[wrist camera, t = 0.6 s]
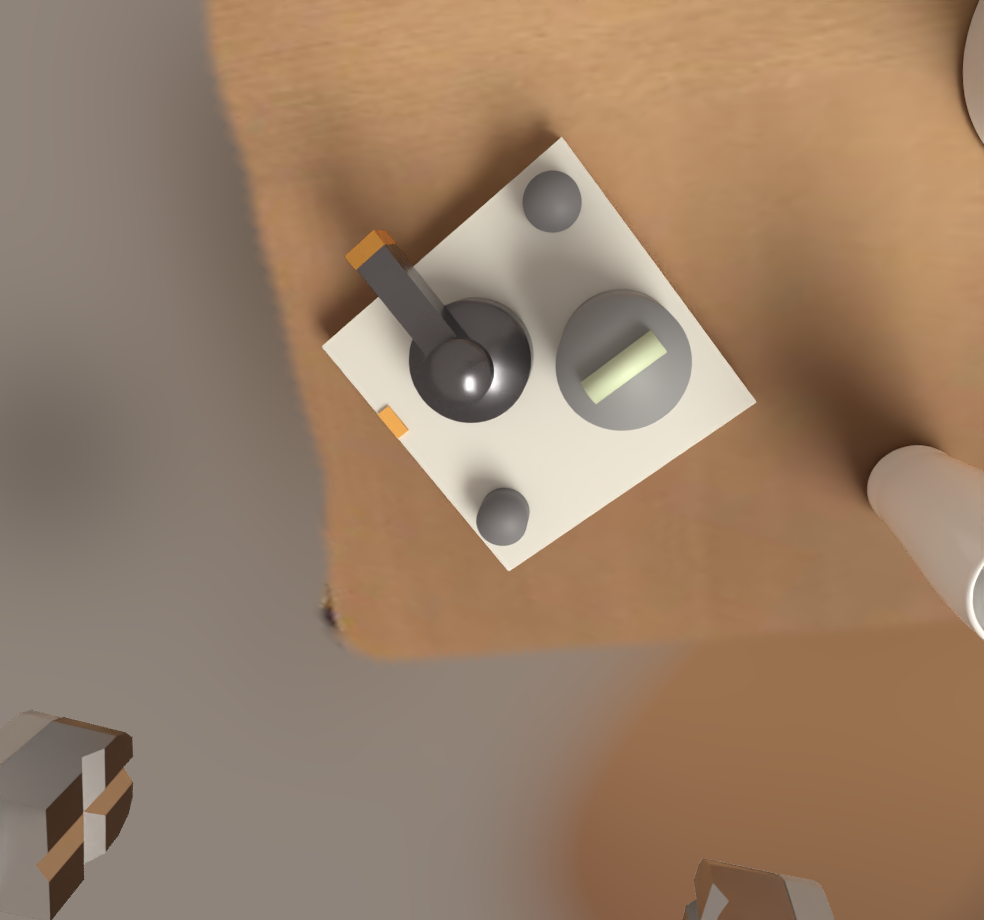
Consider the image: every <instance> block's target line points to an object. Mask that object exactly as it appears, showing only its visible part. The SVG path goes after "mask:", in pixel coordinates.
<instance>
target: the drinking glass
mask: <svg viewBox="0 0 984 920" xmlns="http://www.w3.org/2000/svg"><path fill="white" fill-rule="evenodd" d="M867 496H868V500H869V503H870V505H871V507H872V509H873V510H874V512H875V513H876V514H877V515H878V516H879V517H880V518H881V519H882V520H883V521H884V522H885V524H886V525H887V526H888V528H889V529H890V530H891V532H892V533H893V534H894V536H895V537H896V538H897V540H898V541H899V542H900V544H901V545H902V547H903V548H904V549H905V551H906V552H907V553H908V555H909V556H910V558H911V559H912V560H913V562H914V563H915V565H916V566H917V568H918V569H919V570H920V572H921V573H922V575H923V576H924V577H925V579H926V580H927V581H928V583H929V584H930V585H931V587H932V588H933V589H934V590H935V592H936V593H937V594H938V595H939V597H940V598H941V599H942V600H943V601H944V602H945V603H946V605H947V606H948V607H949V608H950V609H951V610H952V611H953V612H954V613H955V614H956V615H957V616H958V617H959V618H960V619H961V620H962V621H963V622H964V623H965V624H967V625H968V626H969V627H970V628H971V629H972V630H973V631H975V633H977V634H978V635H979V636H980V637H981V638H982V639H983V640H984V471H983V470H981V469H979V468H976V467H974V466H971V465H969V464H967V463H964V462H962V461H960V460H957V459H955V458H953V457H951V456H950V455H948V454H946V453H945V452H943V451H941V450H939V449H936V448H933V447H930V446H924V445H912V446H906V447H902V448H899V449H896V450H894V451H892V452H890V453H889V454H887V455H886V456H884V457H883V458H882V459H881V460H880V461H879V462H878V463H877V464H876V465H875V467H874V468H873V470H872V472H871V474H870V476H869V479H868V483H867Z"/></svg>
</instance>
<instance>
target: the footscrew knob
mask: <svg viewBox="0 0 984 920" xmlns="http://www.w3.org/2000/svg"><path fill="white" fill-rule="evenodd" d="M396 244H397V243H396V242H395V241H394V240H393V238H392V237H391V236H390V235H389V233H388V232H387V231H383V230H373V231H372V232H371V233H370V234H369V235H368V236H366V237H365V238H364V239H363V240H362V241H361V242H360V243H359V244H358V245H357V246H355V247H354V248H353V249H352V250H351V251H350V252H349V253H348V254H347V255H346V256H345V258H346V259H347V260H348V261H349V263H350V264H351V265H352V266H353V268H354V269H355V270H357V271H358V272H359V273H360V274H361V276H362V277H363V278H364V279H365V281H366V282H367V283H368V284H369V286H370V287H371V288H372V289H373V290H374V292H375V293H376V294H377V295H378V297H379V298H380V299H381V300H382V302H383V303H384V304H385V305H386V307H387V308H388V309H389V310H390V312H391V313H392V314H393V315H394V316H395V318H396V319H397V320H398V321H399V323H400V324H401V325H402V326H403V328H404V329H405V330H406V331H407V333H408V334H409V335H410V336H411V338H412V342H411V346H410V351H409V370H410V375H411V379H412V381H413V384H414V387H415V388H416V390H417V392H418V394H419V395H420V397H421V398H422V399H423V401H424V402H425V403H426V404H427V405H428V406H429V407H430V408H431V409H433V410H434V411H435V412H437V413H438V414H440V415H442V416H444V417H446V418H448V419H451V420H454V421H458V422H463V423H479V422H484V421H488V420H491V419H494V418H496V417H498V416H500V415H501V414H503V413H505V412H506V411H507V410H508V409H510V408H511V407H512V406H513V405H514V404H515V402H516V401H517V400H518V399H519V397H520V396H521V394H522V392H523V390H524V388H525V386H526V384H527V382H528V380H529V377H530V375H531V371H532V367H533V360H534V352H533V345H532V340H531V337H530V334H529V332H528V330H527V328H526V326H525V324H524V323H523V322H522V320H521V319H520V318H519V317H518V315H517V314H516V313H514V312H513V311H512V310H511V309H510V308H508V307H507V306H505V305H504V304H501V303H499V302H497V301H495V300H491V299H488V298H482V297H470V298H464V299H460V300H457V301H454V302H452V303H449V304H447V305H445V306H444V304H443V303H442V302H441V301H440V299H439V298H438V297H437V296H436V294H435V293H434V292H433V291H432V289H431V288H430V287H429V286H428V284H427V283H426V282H425V281H424V279H423V278H422V277H421V275H420V274H419V273H418V272H417V270H416V269H415V268H414V267H413V265H412V264H411V263H410V262H409V260H408V259H407V258H406V257H405V255H404V254H403V253H402V252H401V250H400V249H399V248H398V246H397V245H396Z"/></svg>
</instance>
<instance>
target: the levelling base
mask: <svg viewBox="0 0 984 920" xmlns="http://www.w3.org/2000/svg"><path fill="white" fill-rule="evenodd" d="M413 267H414V268H415V269H416V270H417V272H418V273H419V274H420V275H421V277H422V278H423V279H424V281H425V282H426V283H427V284H428V286H429V287H430V288H431V289H432V291H433V292H434V293H435V294H436V296H437V297H438V298H439V299H440V301H441V302H442V303H443V304H444V306H445V305H447V304H449V303H452V302H454V301H457V300H460V299H464V298H470V297H482V298H488V299H491V300H495V301H497V302H499V303H501V304H504V305H505V306H507V307H508V308H510V309H511V310H512V311H513V312H514V313H516V314H517V315H518V317H519V318H520V319H521V320H522V322H523V323H524V324H525V326H526V328H527V330H528V332H529V334H530V337H531V340H532V345H533V352H534V360H533V367H532V371H531V375H530V377H529V380H528V382H527V384H526V386H525V388H524V390H523V392H522V394H521V396H520V397H519V399H518V400H517V401H516V402H515V404H514V405H513V406H512V407H511V408H510V409H508V410H507V411H506V412H505V413H503V414H501V415H500V416H498V417H496V418H494V419H491V420H488V421H484V422H479V423H463V422H458V421H454V420H451V419H448V418H446V417H444V416H442V415H440V414H438V413H437V412H435V411H434V410H433V409H431V408H430V407H429V406H428V405H427V404H426V403H425V402H424V401H423V399H422V398H421V397H420V395H419V394H418V392H417V390H416V388H415V387H414V384H413V381H412V379H411V375H410V370H409V351H410V346H411V342H412V338H411V336H410V335H409V334H408V333H407V331H406V330H405V329H404V328H403V326H402V325H401V324H400V323H399V321H398V320H397V319H396V318H395V316H394V315H393V314H392V313H391V312H390V310H389V309H388V308H387V307H386V305H385V304H384V303H383V302H382V300H381V299H380V298H379V297H378V298H377V299H375V300H374V301H373V302H372V303H371V304H370V305H369V306H367V307H366V308H365V309H364V310H363V311H362V312H361V313H359V314H358V315H357V316H356V317H355V318H354V319H353V320H351V321H350V322H349V323H348V324H347V325H346V326H345V327H343V328H342V329H341V330H340V331H339V332H338V333H337V334H335V335H334V336H333V337H332V338H331V339H330V340H329V341H327V342H326V343H325V344H324V345H323V346H322V348H323V349H324V350H325V351H326V352H327V354H328V355H329V356H330V357H331V358H332V360H333V361H334V362H335V363H336V364H337V366H338V367H339V368H340V369H341V370H342V372H343V373H344V374H345V375H346V376H347V378H348V379H349V380H350V381H351V382H352V384H353V385H354V386H355V387H356V388H357V390H358V391H359V392H360V393H361V394H362V396H363V397H364V398H365V399H366V400H367V402H368V403H369V404H370V405H371V407H372V408H373V409H374V410H375V411H376V413H377V414H378V416H379V417H380V418H381V419H382V420H383V422H384V423H385V424H386V425H387V426H388V428H389V429H390V430H391V431H392V432H393V434H394V435H395V436H396V437H397V438H398V439H399V440H400V441H401V443H402V444H403V445H404V446H405V447H406V449H407V450H408V451H409V452H410V453H411V455H412V456H413V457H414V458H415V459H416V461H417V462H418V463H419V464H420V465H421V467H422V468H423V469H424V470H425V471H426V473H427V474H428V475H429V476H430V477H431V479H432V480H433V481H434V482H435V483H436V485H437V486H438V487H439V488H440V489H441V491H442V492H443V493H444V494H445V496H446V497H447V498H448V499H449V500H450V502H451V503H452V504H453V505H454V506H455V508H456V509H457V510H458V511H459V512H460V514H461V515H462V516H463V517H464V518H465V520H466V521H467V522H468V523H469V524H470V526H471V527H472V528H473V529H474V530H475V532H476V533H477V534H478V535H479V536H480V538H481V539H482V540H483V541H484V542H485V544H486V545H487V546H488V547H489V548H490V550H491V551H492V552H493V553H494V554H495V556H496V557H497V558H498V559H499V560H500V562H501V563H502V564H503V565H504V566H505V568H506V569H507V570H508V571H510V570H512V569H513V568H515V567H516V566H518V565H519V564H520V563H522V562H523V561H525V560H526V559H528V558H529V557H531V556H532V555H534V554H535V553H537V552H538V551H540V550H541V549H542V548H544V547H545V546H547V545H548V544H550V543H551V542H553V541H554V540H556V539H557V538H559V537H560V536H561V535H563V534H564V533H566V532H567V531H569V530H570V529H572V528H573V527H575V526H576V525H578V524H579V523H580V522H582V521H583V520H585V519H586V518H588V517H589V516H591V515H592V514H594V513H595V512H597V511H598V510H600V509H601V508H602V507H604V506H605V505H607V504H608V503H610V502H611V501H613V500H614V499H616V498H617V497H619V496H620V495H621V494H623V493H624V492H626V491H627V490H629V489H630V488H632V487H633V486H635V485H636V484H638V483H639V482H641V481H642V480H643V479H645V478H646V477H648V476H649V475H651V474H652V473H654V472H655V471H657V470H658V469H660V468H661V467H662V466H664V465H665V464H667V463H668V462H670V461H671V460H673V459H674V458H676V457H677V456H679V455H680V454H681V453H683V452H684V451H686V450H687V449H689V448H690V447H692V446H693V445H695V444H696V443H698V442H699V441H701V440H702V439H703V438H705V437H706V436H708V435H709V434H711V433H712V432H714V431H715V430H717V429H718V428H720V427H721V426H722V425H724V424H725V423H727V422H728V421H730V420H731V419H733V418H734V417H736V416H737V415H739V414H740V413H742V412H743V411H744V410H746V409H747V408H749V407H750V406H752V405H753V404H755V403H756V401H755V399H754V398H753V396H752V395H751V394H750V392H749V391H748V390H747V388H746V387H745V386H744V384H743V383H742V381H741V380H740V379H739V377H738V376H737V375H736V373H735V372H734V371H733V369H732V368H731V367H730V365H729V364H728V362H727V361H726V360H725V358H724V357H723V356H722V354H721V353H720V352H719V350H718V349H717V347H716V346H715V345H714V343H713V342H712V341H711V339H710V338H709V337H708V335H707V334H706V332H705V331H704V330H703V328H702V327H701V326H700V324H699V323H698V322H697V320H696V319H695V317H694V316H693V315H692V313H691V312H690V311H689V309H688V308H687V307H686V305H685V304H684V302H683V301H682V300H681V298H680V297H679V296H678V294H677V293H676V292H675V290H674V289H673V287H672V286H671V285H670V283H669V282H668V281H667V279H666V278H665V277H664V275H663V274H662V273H661V271H660V270H659V268H658V267H657V266H656V264H655V263H654V262H653V260H652V259H651V258H650V256H649V255H648V253H647V252H646V251H645V249H644V248H643V247H642V245H641V244H640V243H639V241H638V240H637V238H636V237H635V236H634V234H633V233H632V232H631V230H630V229H629V228H628V226H627V225H626V223H625V222H624V221H623V219H622V218H621V217H620V215H619V214H618V213H617V211H616V210H615V208H614V207H613V206H612V204H611V203H610V202H609V200H608V199H607V198H606V196H605V195H604V193H603V192H602V191H601V189H600V188H599V187H598V185H597V184H596V183H595V181H594V180H593V179H592V177H591V176H590V174H589V173H588V172H587V170H586V169H585V168H584V166H583V165H582V164H581V162H580V161H579V159H578V158H577V157H576V155H575V154H574V153H573V151H572V150H571V149H570V147H569V146H568V144H567V143H566V142H565V140H564V139H563V138H562V137H561V138H560V139H559V140H557V141H556V142H555V143H554V144H553V145H552V146H551V147H549V148H548V149H547V150H546V151H545V152H544V153H543V154H541V155H540V156H539V157H538V158H537V159H536V160H535V161H533V162H532V163H531V164H530V165H529V166H528V167H527V168H525V169H524V170H523V171H522V172H521V173H520V174H519V175H517V176H516V177H515V178H514V179H513V180H512V181H511V182H509V183H508V184H507V185H506V186H505V187H504V188H503V189H501V190H500V191H499V192H498V193H497V194H496V195H495V196H493V197H492V198H491V199H490V200H489V201H488V202H486V203H485V204H484V205H483V206H482V207H481V208H480V209H478V210H477V211H476V212H475V213H474V214H473V215H472V216H470V217H469V218H468V219H467V220H466V221H465V222H464V223H462V224H461V225H460V226H459V227H458V228H457V229H456V230H454V231H453V232H452V233H451V234H450V235H449V236H448V237H446V238H445V239H444V240H443V241H442V242H441V243H440V244H438V245H437V246H436V247H435V248H434V249H433V250H432V251H430V252H429V253H428V254H427V255H426V256H425V257H424V258H422V259H421V260H420V261H419V262H418V263H417V264H416V265H414V266H413Z"/></svg>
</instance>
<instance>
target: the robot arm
mask: <svg viewBox="0 0 984 920" xmlns="http://www.w3.org/2000/svg"><path fill="white" fill-rule="evenodd" d="M963 86H964V94H965V100H966V105H967V108H968V112H969V115H970V118H971V120H972V123H973V125H974V128H975V130H976V132H977V134H978V135H979V137H980V139H981V140H982V142H983V143H984V0H979V3H978V5H977V7H976V10H975V12H974V15H973V18H972V21H971V24H970V28H969V31H968V35H967V40H966V45H965V51H964V60H963ZM132 757H133V740H132V737H131V736H130V735H129V734H127V733H126V732H123V731H118V730H114V729H110V728H106V727H102V726H98V725H94V724H90V723H86V722H82V721H78V720H74V719H70V718H66V717H62V718H61V717H58V716H54V715H50V714H46V713H42V712H38V711H34V710H29V711H25V712H22V713H19V714H18V715H16V716H15V717H14V718H13V719H11V720H10V721H9V722H8V723H6V724H5V725H4V726H3V727H2V728H0V912H3V913H8V914H13V915H18V916H22V917H27V918H32V919H37V920H52V919H53V918H54V917H55V916H56V914H57V913H58V912H59V911H60V909H61V908H62V907H63V906H64V904H65V903H66V902H67V900H68V899H69V898H70V897H71V895H72V894H73V893H74V892H75V891H76V889H77V888H78V887H79V886H80V884H81V883H82V882H83V881H84V863H86V862H88V861H90V860H92V859H94V858H96V857H98V856H100V855H102V854H104V853H106V851H107V850H108V849H109V847H110V846H111V845H112V843H113V842H114V840H116V838H117V837H118V836H119V834H120V831H121V829H122V827H123V825H124V823H125V821H126V819H127V817H128V815H129V811H130V807H131V803H132V798H133V782H132V780H131V778H130V777H129V775H128V774H127V772H126V771H125V769H124V766H125V765H126V764H127V763H128V762H129V761H130V760H131V758H132ZM694 886H695V893H696V899H695V900H694V901H693V902H691V903H689V904H688V905H686V907H685V912H684V915H683V919H682V920H834V917H833V914H832V912H831V909H830V906H829V904H828V901H827V898H826V896H825V893H824V890H823V888H822V887H821V886H820V885H819V883H818V882H817V881H813V880H808V879H803V878H798V877H793V876H788V875H784V874H775V873H771V872H767V871H762V870H757V869H752V868H748V867H743V866H738V865H733V864H729V863H724V862H719V861H714V860H709V859H704V858H703V859H702V860H701V862H700V864H699V865H698V868H697V871H696V874H695V877H694Z"/></svg>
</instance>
